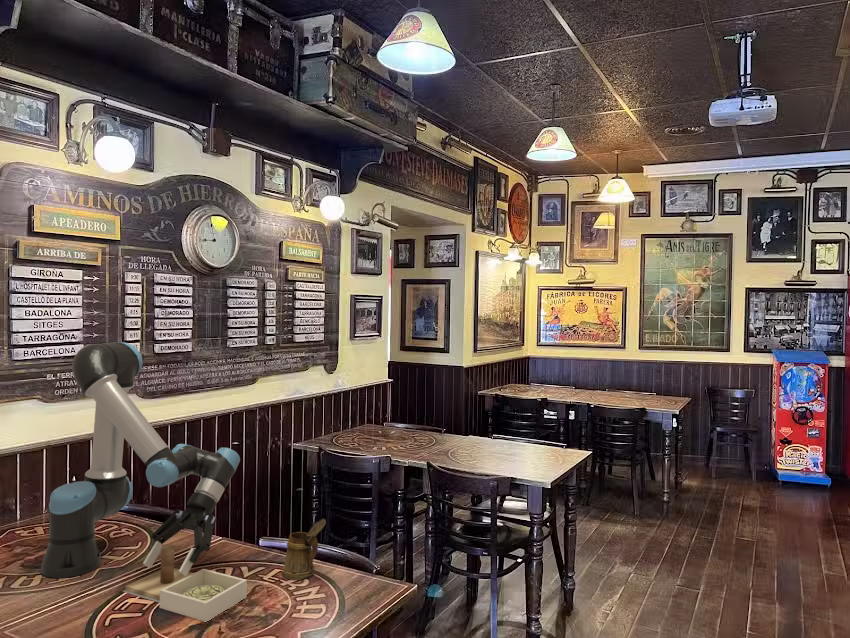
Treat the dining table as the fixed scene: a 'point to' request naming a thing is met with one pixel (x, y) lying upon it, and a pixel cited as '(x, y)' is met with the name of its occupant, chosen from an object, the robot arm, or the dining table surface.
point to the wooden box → (198, 608)
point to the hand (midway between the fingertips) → (164, 569)
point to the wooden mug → (302, 553)
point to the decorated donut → (204, 592)
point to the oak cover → (158, 576)
